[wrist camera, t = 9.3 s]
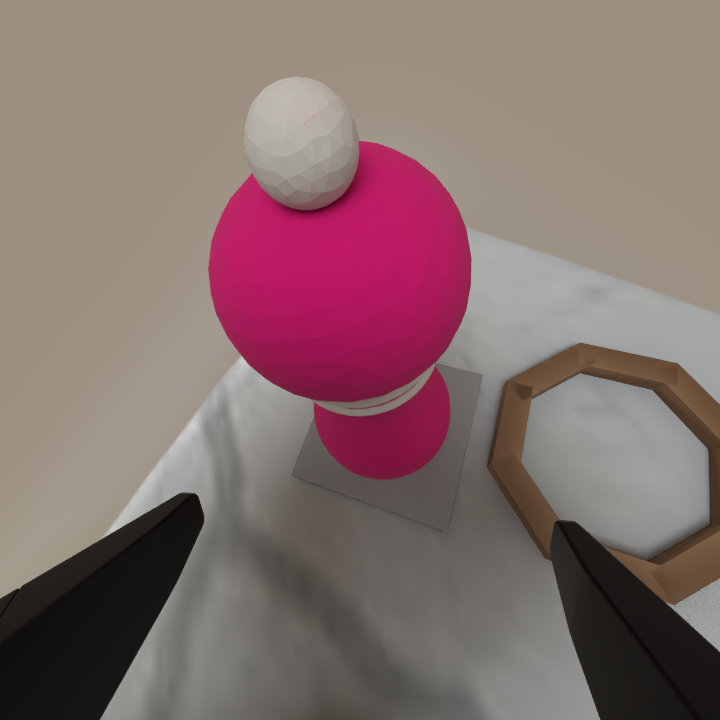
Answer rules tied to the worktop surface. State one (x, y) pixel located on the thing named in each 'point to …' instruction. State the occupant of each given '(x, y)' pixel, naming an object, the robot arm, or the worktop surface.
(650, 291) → the worktop surface
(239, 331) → the pepper mill
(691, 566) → the walnut holder ring
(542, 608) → the worktop surface
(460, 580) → the worktop surface
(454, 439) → the slate mat
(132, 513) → the worktop surface
